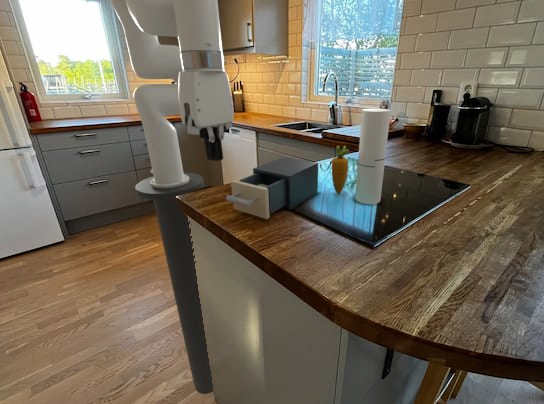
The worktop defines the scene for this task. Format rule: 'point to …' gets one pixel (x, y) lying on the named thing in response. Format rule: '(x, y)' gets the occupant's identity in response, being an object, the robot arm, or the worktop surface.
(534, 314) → the worktop surface
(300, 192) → the cabinet
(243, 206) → the drawer
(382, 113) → the cylindrical container
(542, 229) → the worktop surface
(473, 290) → the worktop surface
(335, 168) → the carrot
